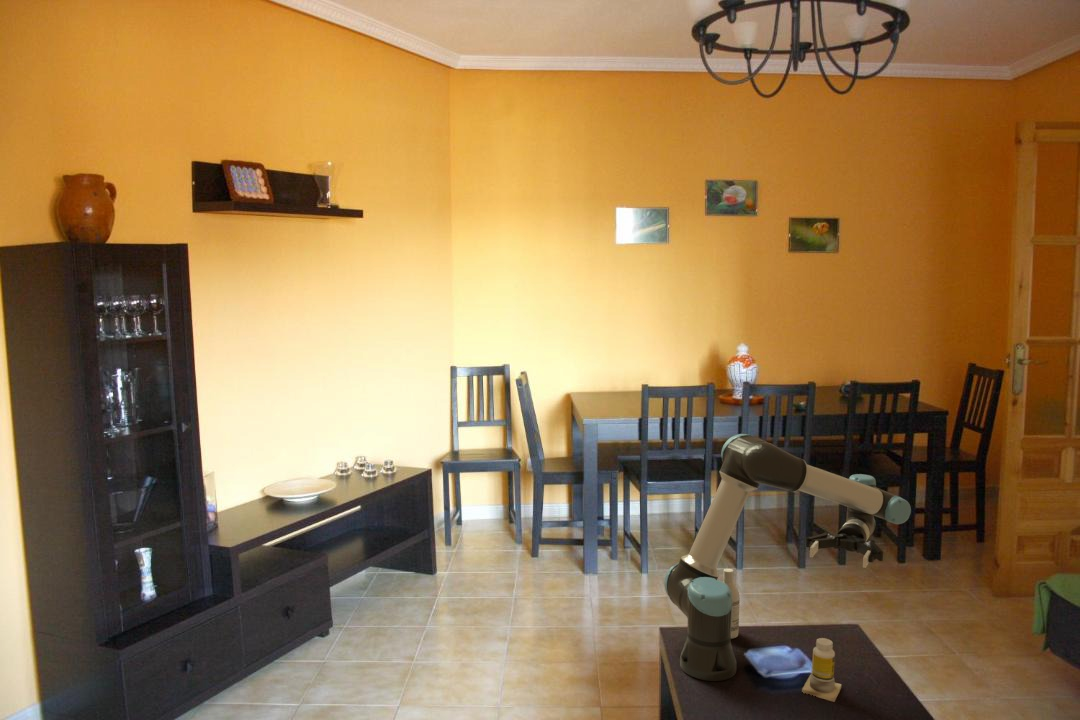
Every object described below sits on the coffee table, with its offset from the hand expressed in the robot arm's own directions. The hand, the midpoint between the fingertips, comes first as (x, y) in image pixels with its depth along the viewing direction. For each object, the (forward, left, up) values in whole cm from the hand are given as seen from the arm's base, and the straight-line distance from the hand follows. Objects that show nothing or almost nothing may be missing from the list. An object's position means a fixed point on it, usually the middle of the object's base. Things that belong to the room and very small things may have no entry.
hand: (837, 557), depth 206 cm
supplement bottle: (0, -12, -29) cm, 31 cm away
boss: (0, -12, -32) cm, 34 cm away
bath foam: (-31, +5, -32) cm, 45 cm away
